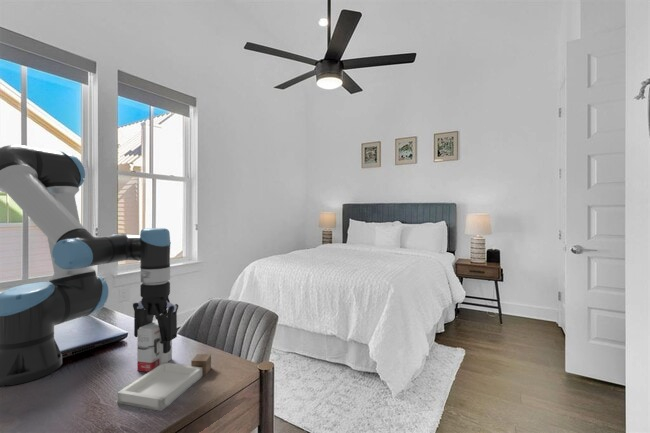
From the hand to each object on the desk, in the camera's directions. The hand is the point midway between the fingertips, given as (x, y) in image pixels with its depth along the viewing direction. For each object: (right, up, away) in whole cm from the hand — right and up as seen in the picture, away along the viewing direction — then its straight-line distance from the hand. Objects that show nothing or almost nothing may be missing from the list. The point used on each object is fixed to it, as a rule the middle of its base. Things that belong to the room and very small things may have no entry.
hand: (155, 362), depth 91 cm
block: (+15, -1, -3) cm, 15 cm away
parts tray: (+8, -1, -12) cm, 15 cm away
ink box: (0, -1, 0) cm, 1 cm away
